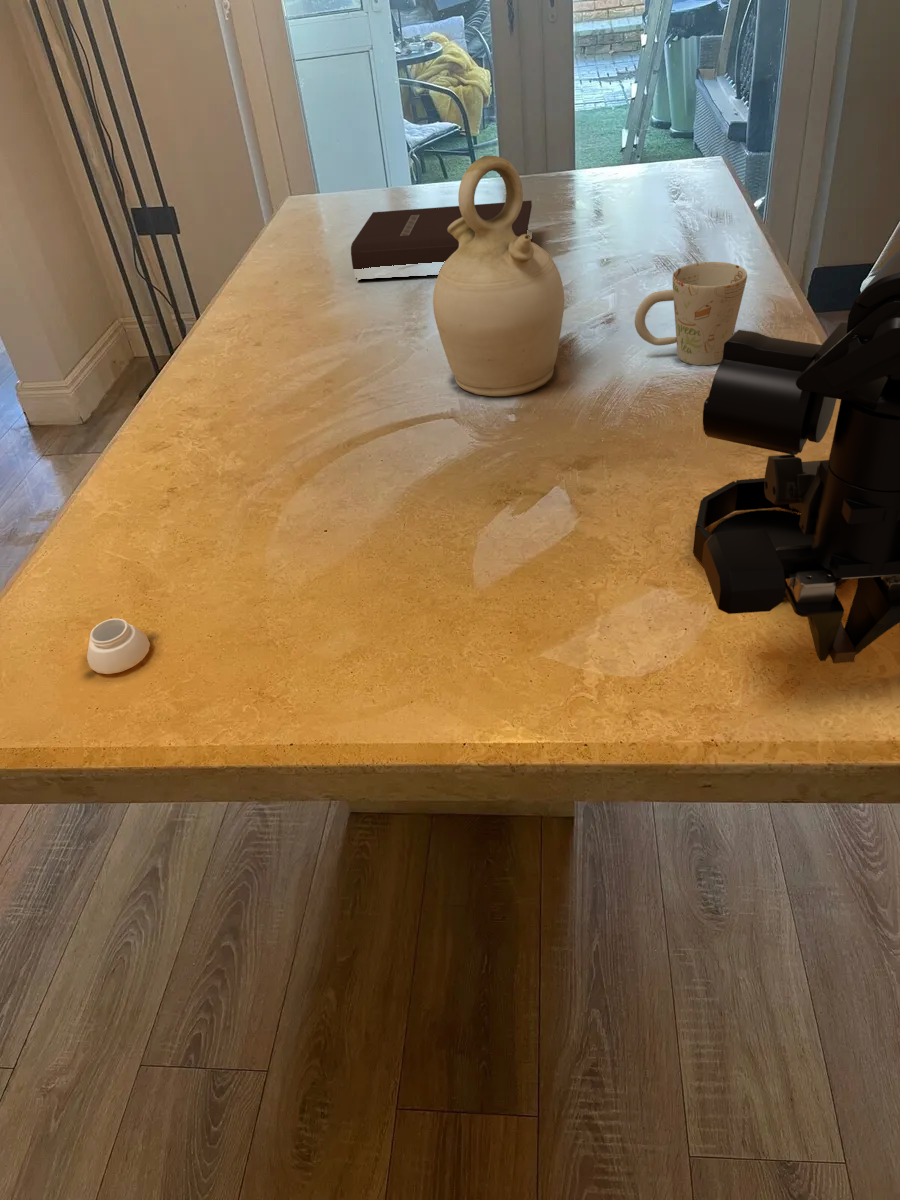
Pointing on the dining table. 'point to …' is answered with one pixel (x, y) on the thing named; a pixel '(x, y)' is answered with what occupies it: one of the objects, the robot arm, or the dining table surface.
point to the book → (419, 234)
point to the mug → (699, 310)
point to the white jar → (116, 646)
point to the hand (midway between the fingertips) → (833, 656)
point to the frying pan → (776, 523)
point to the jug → (497, 296)
